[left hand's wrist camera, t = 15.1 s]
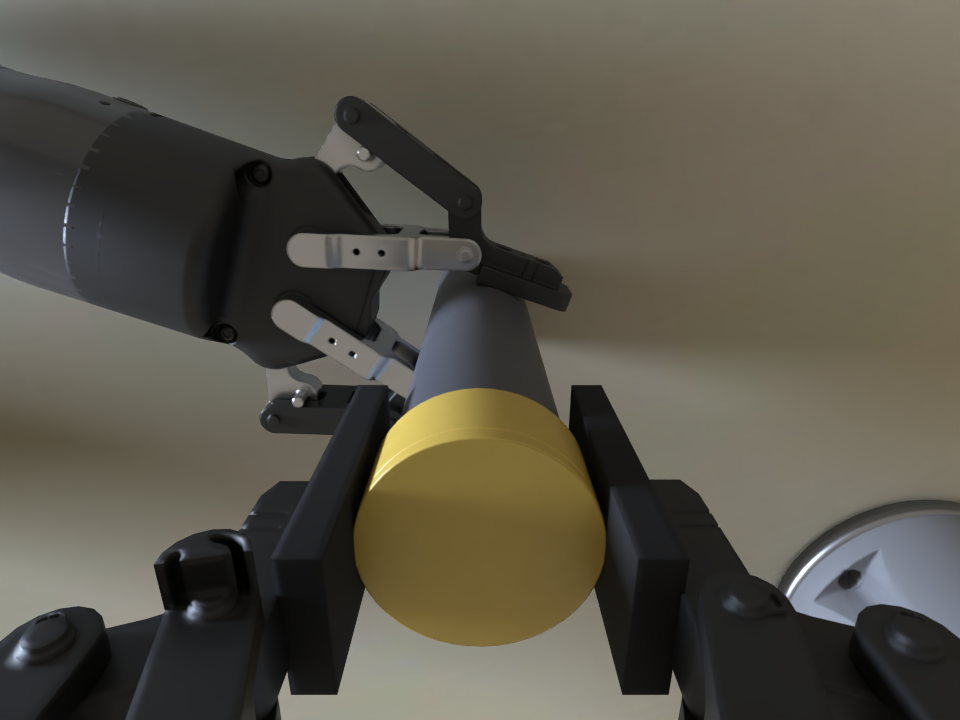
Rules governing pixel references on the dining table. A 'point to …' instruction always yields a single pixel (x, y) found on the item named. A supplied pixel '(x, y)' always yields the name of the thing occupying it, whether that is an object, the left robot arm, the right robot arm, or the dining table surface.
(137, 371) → the dining table surface
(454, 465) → the lid
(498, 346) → the dark gray cylinder
